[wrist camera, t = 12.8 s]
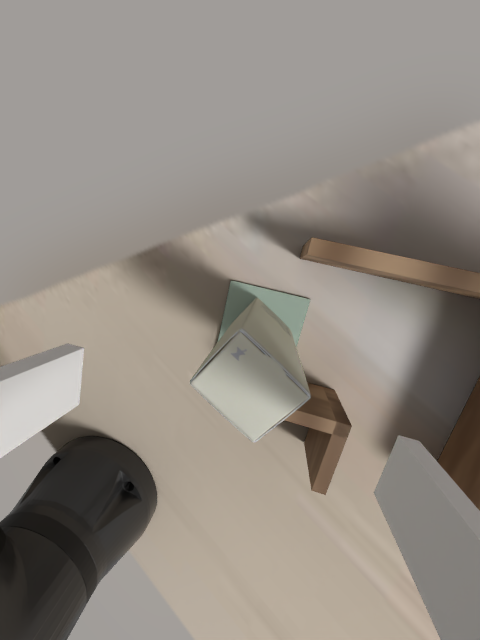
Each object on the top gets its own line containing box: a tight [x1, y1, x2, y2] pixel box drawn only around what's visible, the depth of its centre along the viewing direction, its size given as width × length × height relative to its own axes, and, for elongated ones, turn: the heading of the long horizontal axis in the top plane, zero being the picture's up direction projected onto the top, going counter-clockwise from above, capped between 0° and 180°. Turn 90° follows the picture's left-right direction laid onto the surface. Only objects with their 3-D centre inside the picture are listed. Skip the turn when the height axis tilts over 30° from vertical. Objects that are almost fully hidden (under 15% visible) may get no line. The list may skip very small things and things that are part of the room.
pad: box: [218, 280, 310, 347], centre depth 25 cm, size 8×8×1 cm
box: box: [190, 298, 311, 442], centre depth 18 cm, size 5×4×13 cm
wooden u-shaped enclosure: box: [285, 237, 480, 511], centre depth 21 cm, size 20×20×6 cm
